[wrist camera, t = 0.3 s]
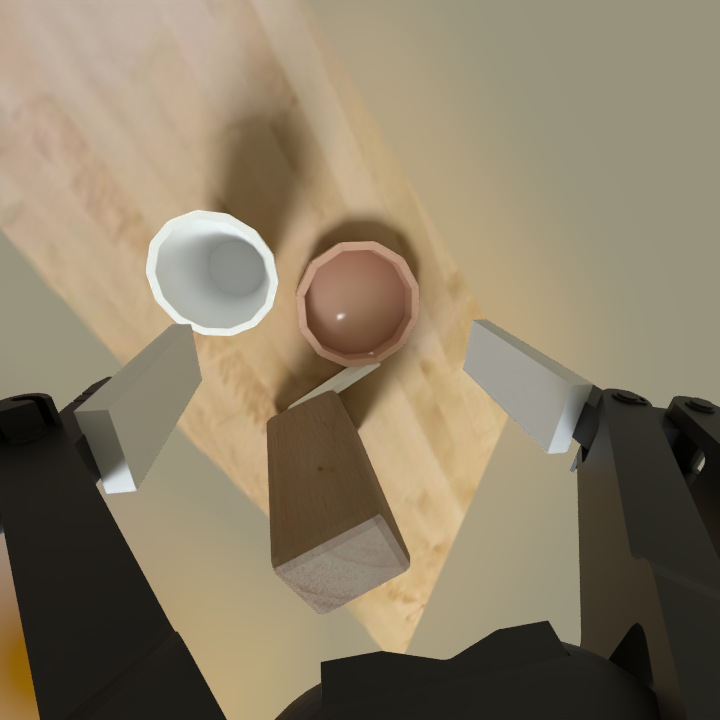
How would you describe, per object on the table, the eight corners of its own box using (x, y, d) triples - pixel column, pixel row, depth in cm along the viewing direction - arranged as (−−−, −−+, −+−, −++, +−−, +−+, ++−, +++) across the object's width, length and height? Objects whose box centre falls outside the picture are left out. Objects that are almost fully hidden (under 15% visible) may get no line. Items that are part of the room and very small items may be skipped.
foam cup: (286, 302, 39) (287, 326, 27) (207, 315, 38) (171, 345, 26) (269, 218, 36) (262, 203, 24) (182, 228, 34) (126, 217, 22)
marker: (275, 414, 44) (372, 351, 44) (283, 427, 44) (380, 364, 44) (269, 419, 42) (372, 351, 41) (278, 432, 42) (381, 365, 41)
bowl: (290, 244, 37) (290, 244, 34) (410, 240, 40) (420, 239, 37) (302, 363, 42) (303, 372, 39) (408, 352, 45) (417, 359, 42)
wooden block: (333, 384, 42) (384, 513, 25) (359, 434, 47) (416, 570, 30) (263, 418, 41) (266, 574, 24) (297, 465, 47) (320, 622, 29)
